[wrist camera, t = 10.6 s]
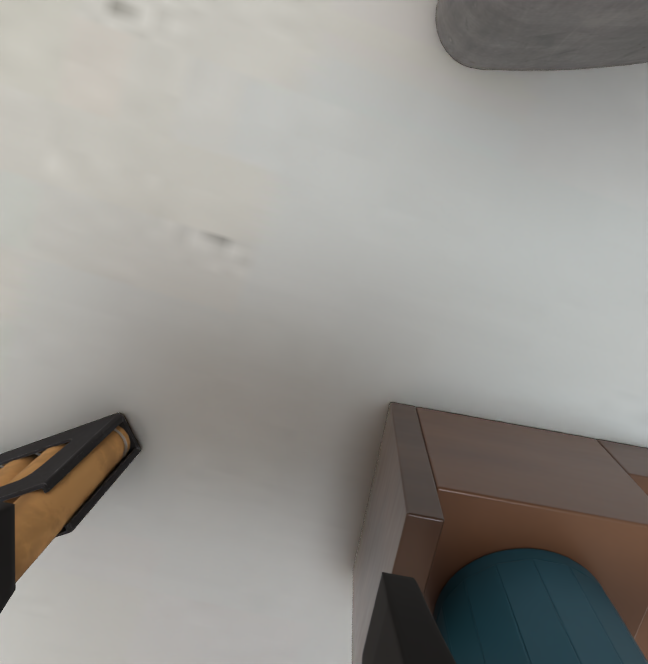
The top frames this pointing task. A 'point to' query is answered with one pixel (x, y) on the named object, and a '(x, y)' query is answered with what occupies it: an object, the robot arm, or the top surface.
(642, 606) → the step shelf
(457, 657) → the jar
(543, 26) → the hip flask
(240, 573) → the top surface
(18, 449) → the ammunition clip
